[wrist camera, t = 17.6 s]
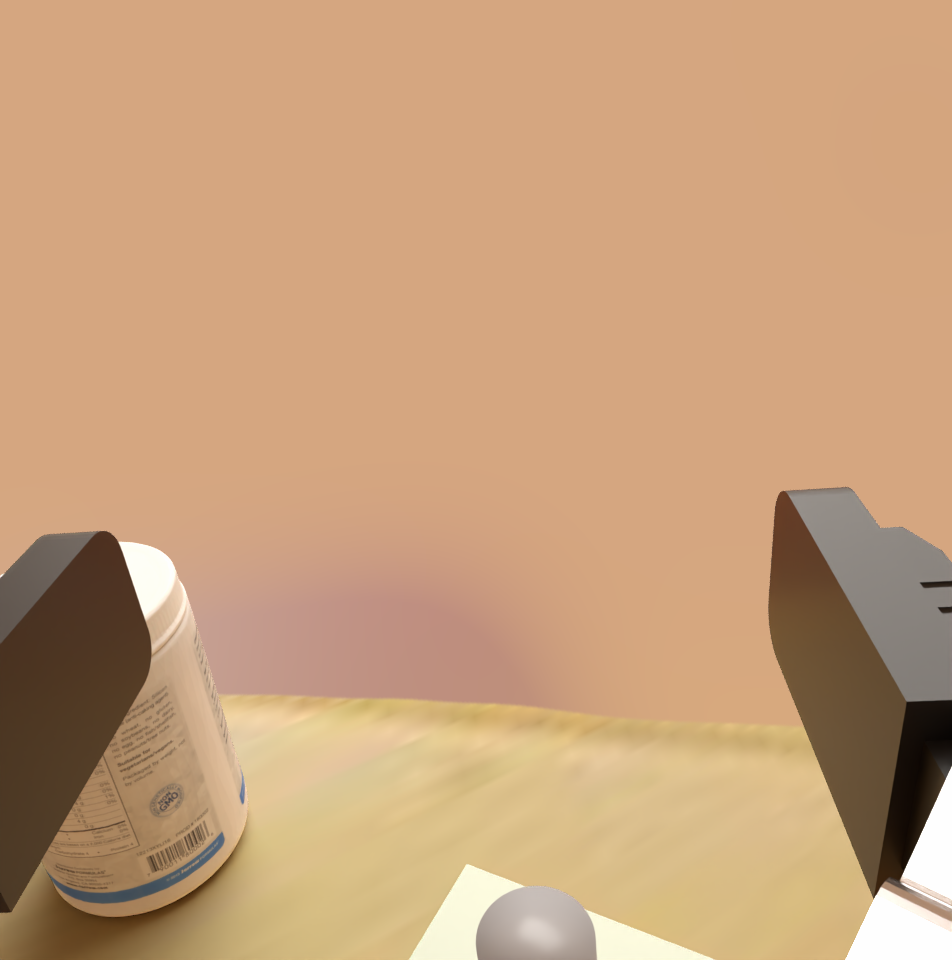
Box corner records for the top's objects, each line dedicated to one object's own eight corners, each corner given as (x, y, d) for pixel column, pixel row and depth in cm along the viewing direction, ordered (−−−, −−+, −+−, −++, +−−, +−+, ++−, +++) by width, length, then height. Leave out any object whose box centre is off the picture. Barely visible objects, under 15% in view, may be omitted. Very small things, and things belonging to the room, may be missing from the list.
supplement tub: (112, 767, 48) (22, 539, 41) (277, 766, 46) (212, 531, 40) (12, 928, 39) (-121, 673, 32) (212, 932, 38) (115, 668, 31)
